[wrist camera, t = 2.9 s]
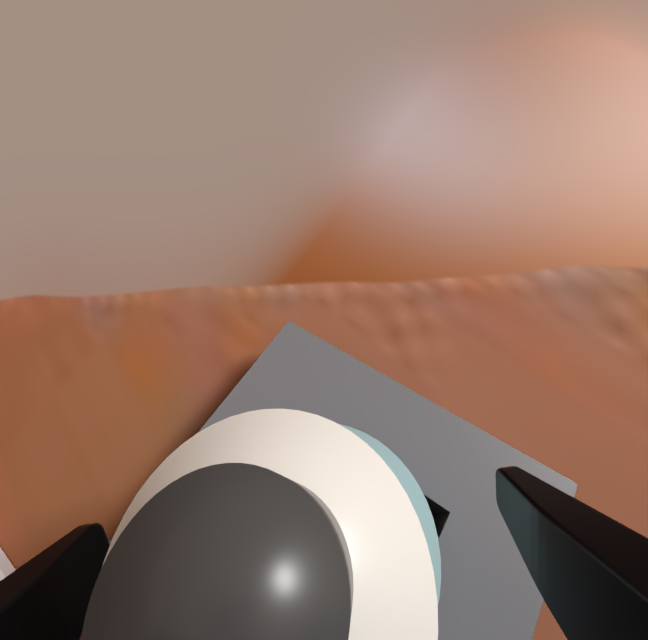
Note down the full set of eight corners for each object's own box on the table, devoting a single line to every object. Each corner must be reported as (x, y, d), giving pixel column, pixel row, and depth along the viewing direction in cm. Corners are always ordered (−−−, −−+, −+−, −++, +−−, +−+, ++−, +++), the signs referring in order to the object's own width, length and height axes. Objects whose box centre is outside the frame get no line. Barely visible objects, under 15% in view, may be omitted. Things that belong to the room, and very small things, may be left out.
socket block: (392, 909, 9) (403, 1071, 6) (122, 581, 13) (64, 597, 11) (536, 490, 13) (577, 484, 11) (299, 349, 18) (288, 320, 15)
